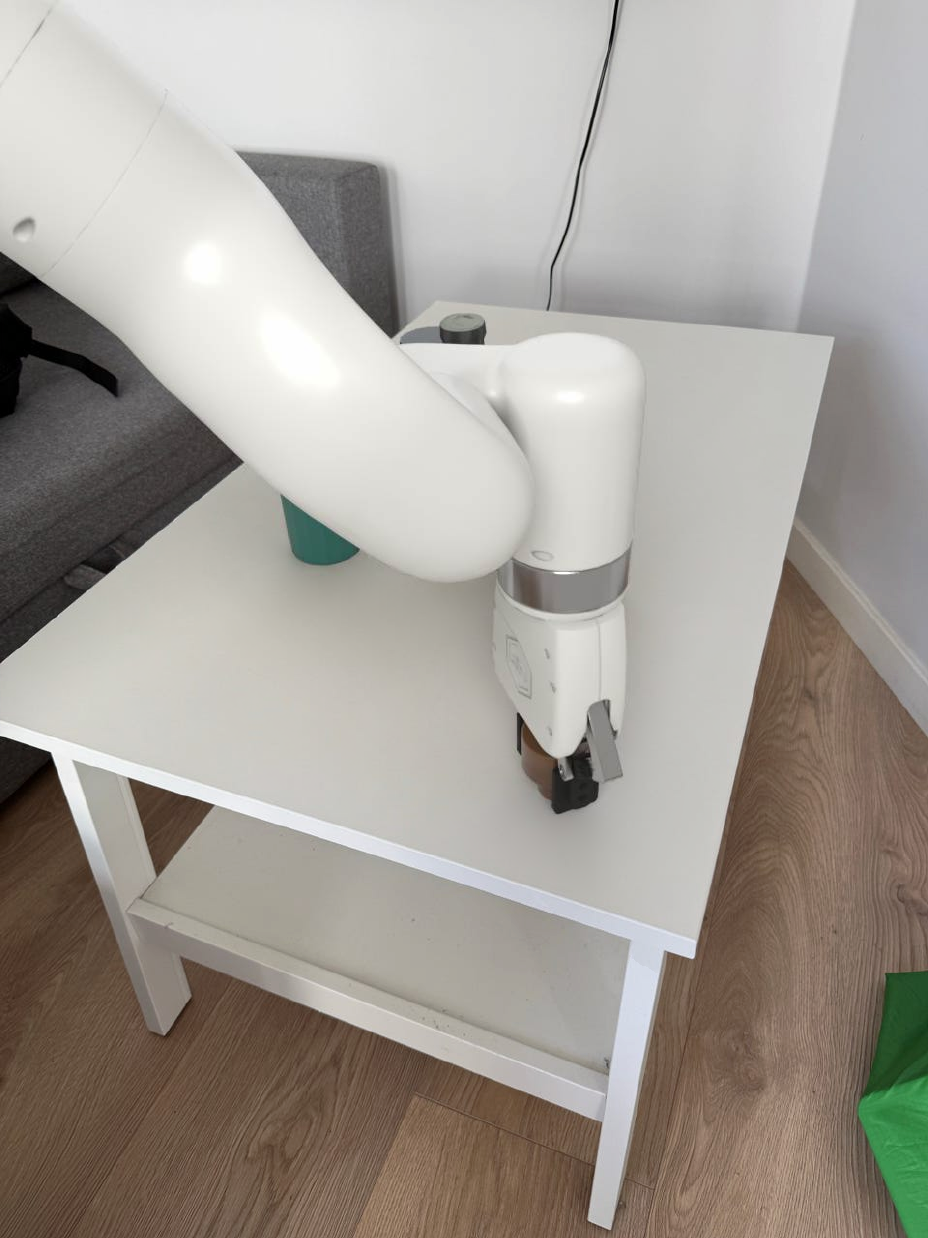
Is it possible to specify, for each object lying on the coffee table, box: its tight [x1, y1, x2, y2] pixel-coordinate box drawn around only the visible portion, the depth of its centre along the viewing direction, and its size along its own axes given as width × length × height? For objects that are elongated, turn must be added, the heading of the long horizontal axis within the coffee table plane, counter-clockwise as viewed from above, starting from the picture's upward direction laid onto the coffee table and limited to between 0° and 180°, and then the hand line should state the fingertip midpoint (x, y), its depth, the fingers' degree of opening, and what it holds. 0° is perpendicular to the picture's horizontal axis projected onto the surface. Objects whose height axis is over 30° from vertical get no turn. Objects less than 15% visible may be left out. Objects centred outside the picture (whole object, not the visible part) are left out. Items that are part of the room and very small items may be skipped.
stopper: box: [520, 722, 589, 801], centre depth 62 cm, size 5×5×6 cm
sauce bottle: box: [438, 312, 487, 345], centre depth 85 cm, size 7×6×20 cm
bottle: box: [279, 493, 360, 566], centre depth 83 cm, size 7×7×16 cm
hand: (556, 774), depth 63 cm, fingers closed on stopper, 4 cm apart
